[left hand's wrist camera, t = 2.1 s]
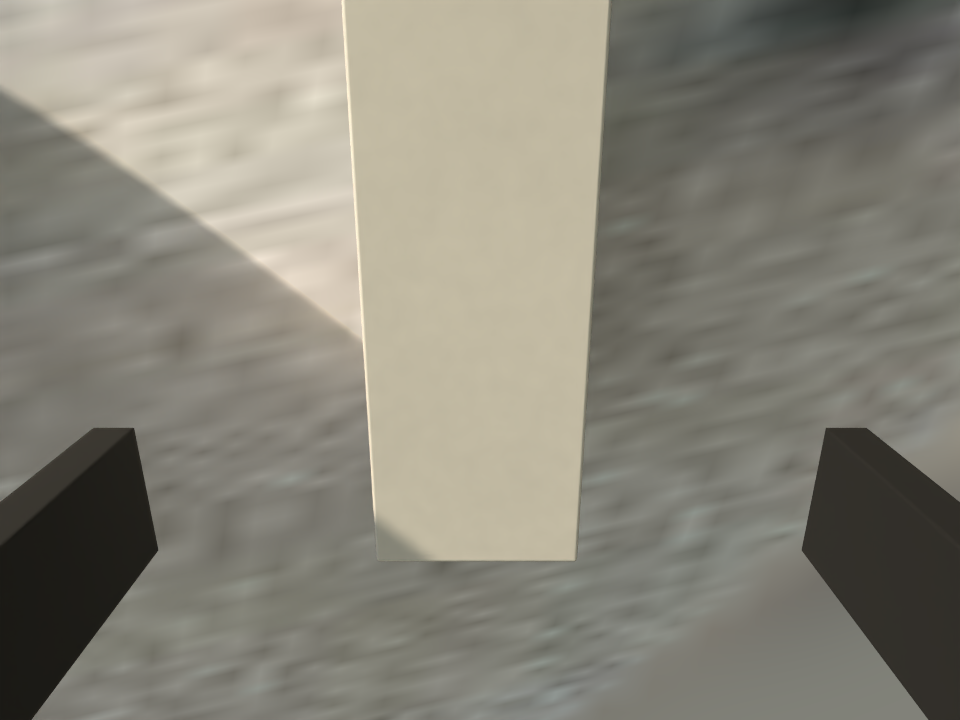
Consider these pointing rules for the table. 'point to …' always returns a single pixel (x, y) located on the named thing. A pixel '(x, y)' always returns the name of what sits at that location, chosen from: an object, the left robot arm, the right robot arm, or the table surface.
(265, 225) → the table surface
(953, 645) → the left robot arm
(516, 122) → the bar
